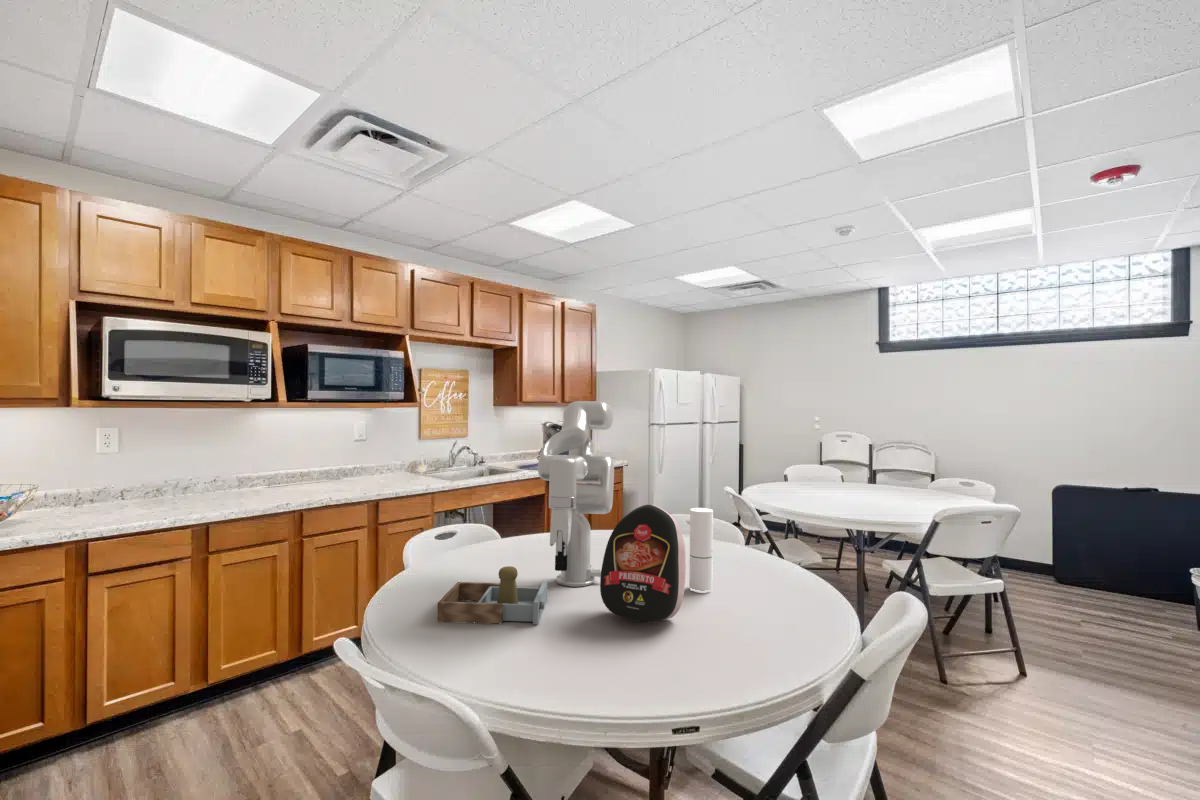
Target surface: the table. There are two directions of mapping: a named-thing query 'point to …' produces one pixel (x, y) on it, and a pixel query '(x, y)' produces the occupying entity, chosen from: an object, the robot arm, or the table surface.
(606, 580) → the packaged food
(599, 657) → the table surface
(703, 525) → the cylindrical container
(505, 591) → the cork
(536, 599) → the tray
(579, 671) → the table surface
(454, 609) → the frame
